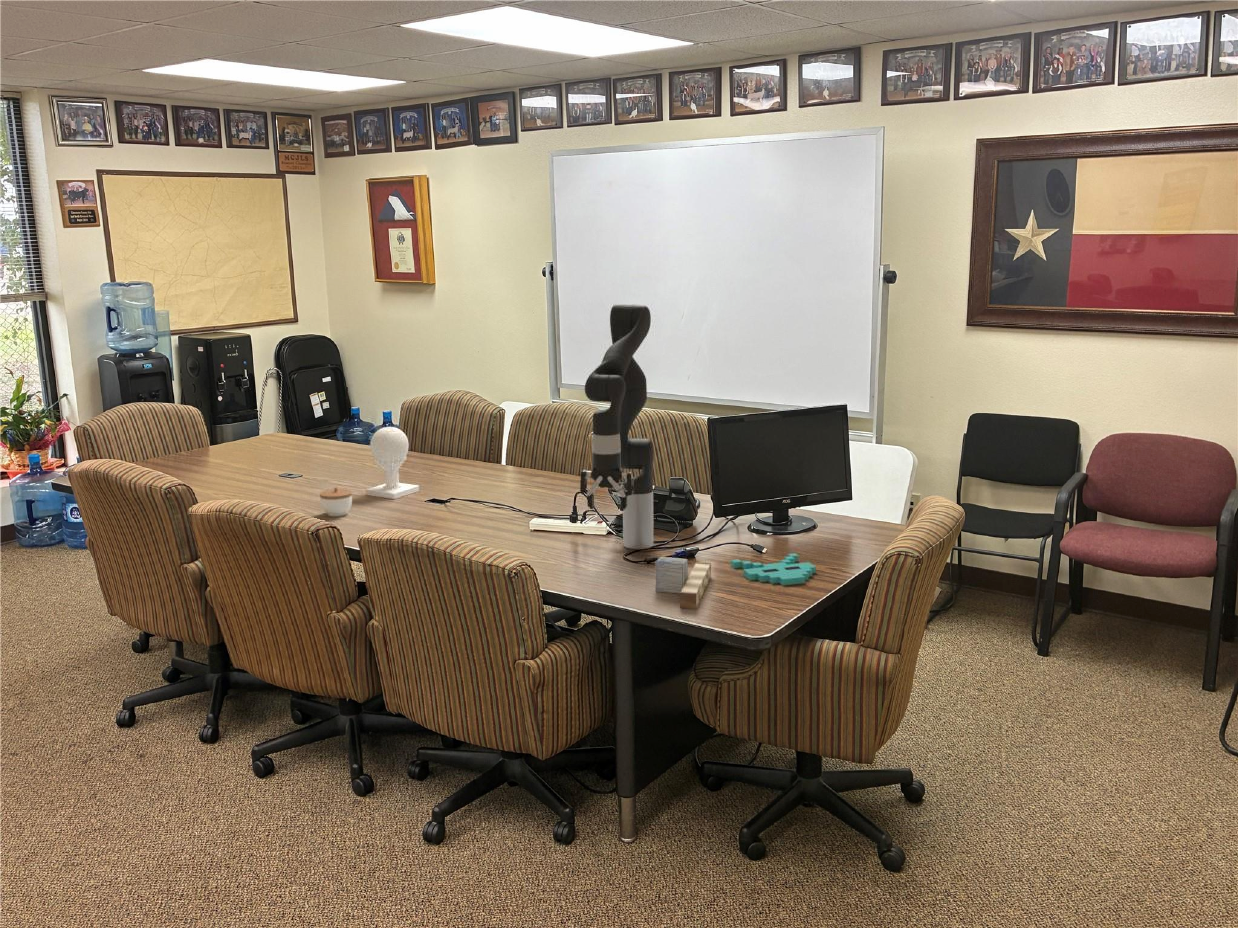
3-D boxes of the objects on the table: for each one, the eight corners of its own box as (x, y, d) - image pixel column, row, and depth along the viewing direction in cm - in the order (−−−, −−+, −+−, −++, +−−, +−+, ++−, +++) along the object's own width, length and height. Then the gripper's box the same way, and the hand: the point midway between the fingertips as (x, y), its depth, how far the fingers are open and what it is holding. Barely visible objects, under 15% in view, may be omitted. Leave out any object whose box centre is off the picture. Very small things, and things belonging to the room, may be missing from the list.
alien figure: (731, 567, 300) (759, 589, 281) (731, 559, 299) (759, 581, 281) (794, 560, 305) (826, 581, 286) (795, 553, 305) (827, 574, 286)
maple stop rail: (696, 576, 291) (696, 562, 290) (710, 576, 290) (710, 562, 289) (680, 607, 267) (680, 592, 266) (696, 609, 266) (696, 593, 265)
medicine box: (688, 589, 281) (688, 558, 279) (683, 594, 276) (684, 563, 275) (660, 586, 283) (659, 556, 281) (655, 592, 279) (655, 561, 277)
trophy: (365, 494, 386) (361, 428, 380) (390, 486, 397) (387, 422, 392) (394, 499, 379) (390, 432, 373) (419, 491, 391) (416, 425, 385)
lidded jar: (315, 517, 356) (313, 490, 354) (331, 509, 366) (329, 483, 364) (344, 519, 353) (342, 492, 351) (359, 511, 364) (357, 484, 361)
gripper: (635, 448, 277) (636, 506, 281) (584, 446, 281) (585, 504, 284) (629, 454, 270) (630, 514, 274) (576, 452, 274) (577, 511, 277)
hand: (607, 509), depth 279 cm, fingers open, 8 cm apart
